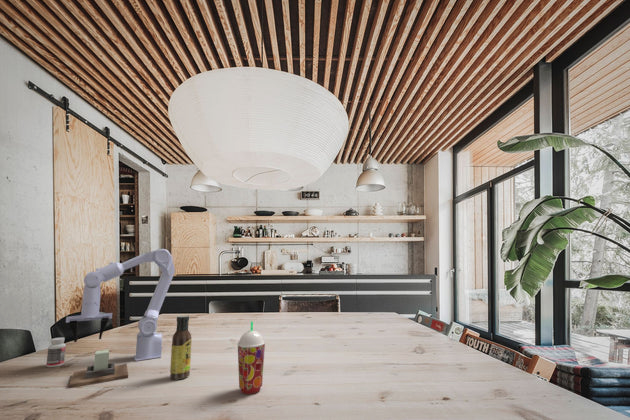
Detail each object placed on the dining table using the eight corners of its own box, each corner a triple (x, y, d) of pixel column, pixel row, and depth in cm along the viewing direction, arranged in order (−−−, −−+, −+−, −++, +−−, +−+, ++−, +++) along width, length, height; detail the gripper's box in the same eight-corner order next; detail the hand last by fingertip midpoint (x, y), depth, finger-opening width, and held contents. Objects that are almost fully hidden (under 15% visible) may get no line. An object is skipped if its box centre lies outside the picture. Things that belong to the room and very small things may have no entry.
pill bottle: (63, 366, 123) (66, 339, 125) (45, 368, 120) (48, 341, 122) (64, 362, 128) (67, 336, 129) (47, 365, 125) (49, 338, 126)
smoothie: (238, 385, 102) (240, 319, 105) (265, 384, 103) (266, 318, 106) (234, 396, 94) (236, 324, 97) (263, 395, 95) (264, 323, 97)
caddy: (126, 366, 122) (127, 358, 122) (128, 377, 110) (128, 368, 110) (73, 375, 114) (74, 365, 114) (69, 388, 102) (69, 378, 102)
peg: (107, 370, 115) (109, 349, 116) (107, 373, 111) (108, 352, 112) (93, 372, 113) (95, 351, 114) (93, 376, 109) (95, 354, 110)
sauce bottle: (188, 379, 108) (191, 317, 111) (168, 381, 106) (171, 318, 109) (191, 373, 114) (193, 314, 117) (171, 374, 113) (174, 314, 116)
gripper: (66, 306, 119) (62, 345, 117) (113, 302, 126) (110, 339, 124) (68, 303, 125) (65, 341, 123) (113, 300, 132) (110, 336, 130)
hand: (88, 340), depth 124 cm, fingers open, 7 cm apart
